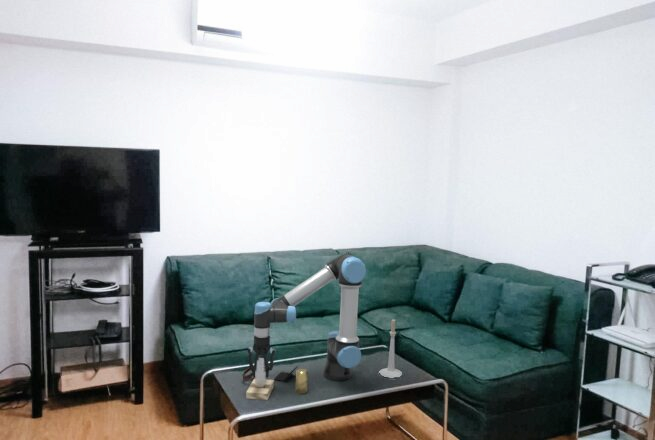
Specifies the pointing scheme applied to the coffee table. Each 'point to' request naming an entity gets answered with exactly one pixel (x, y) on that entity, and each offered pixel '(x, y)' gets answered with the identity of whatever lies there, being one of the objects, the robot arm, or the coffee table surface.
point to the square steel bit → (260, 373)
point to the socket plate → (260, 391)
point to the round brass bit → (301, 381)
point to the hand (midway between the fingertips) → (260, 383)
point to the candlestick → (391, 357)
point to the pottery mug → (247, 377)
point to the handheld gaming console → (283, 376)
